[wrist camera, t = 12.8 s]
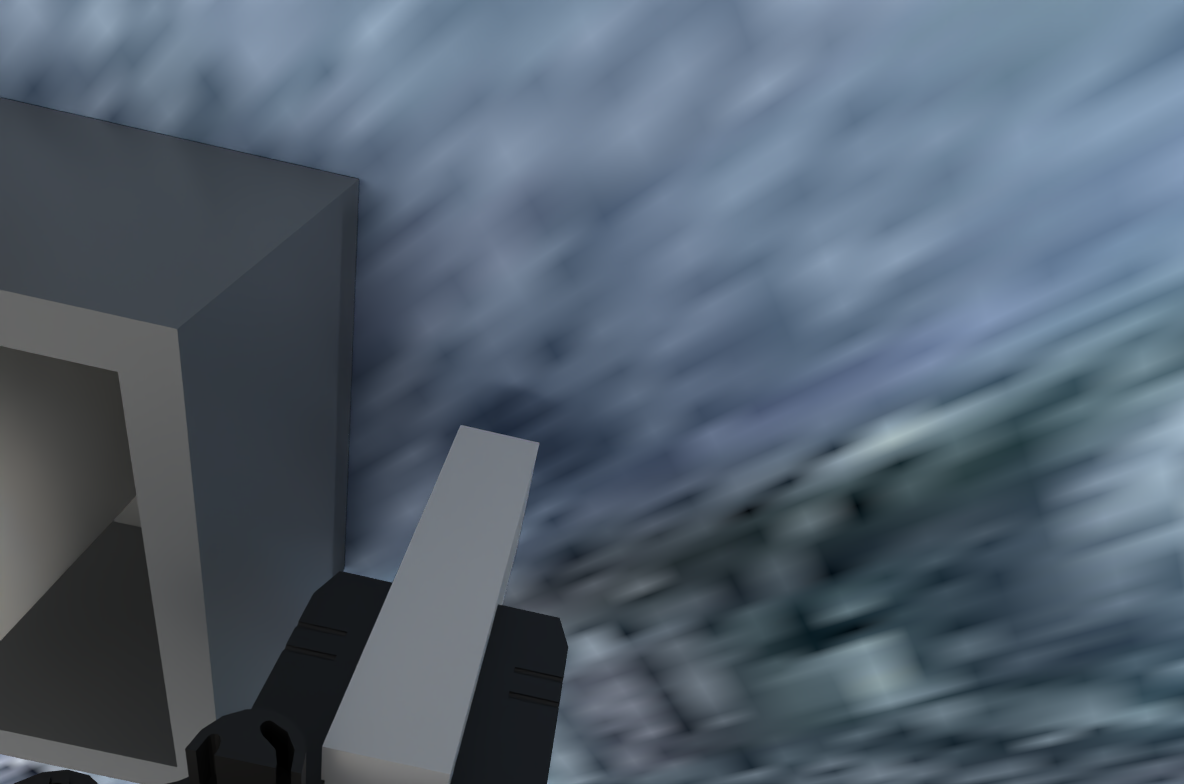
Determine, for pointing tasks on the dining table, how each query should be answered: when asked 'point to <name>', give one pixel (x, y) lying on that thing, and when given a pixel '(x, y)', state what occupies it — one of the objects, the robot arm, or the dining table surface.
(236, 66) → the dining table surface
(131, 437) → the tray
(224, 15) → the dining table surface
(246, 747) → the robot arm
